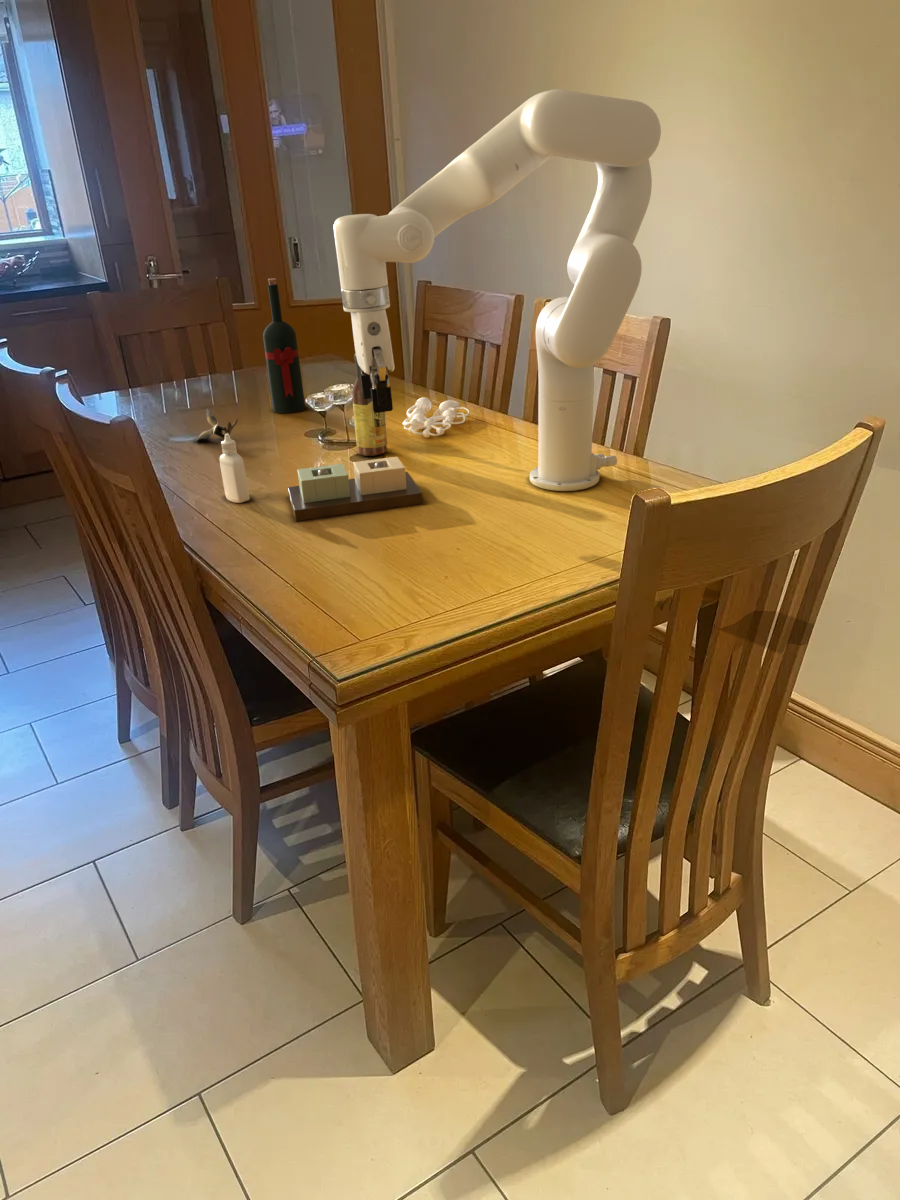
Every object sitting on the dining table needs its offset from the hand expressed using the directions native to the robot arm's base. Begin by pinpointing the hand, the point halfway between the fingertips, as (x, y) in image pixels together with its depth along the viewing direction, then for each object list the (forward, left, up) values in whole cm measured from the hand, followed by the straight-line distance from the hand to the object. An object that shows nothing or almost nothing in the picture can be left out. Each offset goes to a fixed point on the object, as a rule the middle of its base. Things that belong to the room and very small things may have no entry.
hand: (377, 404), depth 146 cm
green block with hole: (+11, 0, -15) cm, 18 cm away
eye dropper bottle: (+26, -9, -17) cm, 32 cm away
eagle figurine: (+29, -48, -17) cm, 58 cm away
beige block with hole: (+1, 0, -15) cm, 15 cm away
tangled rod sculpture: (-19, -40, -17) cm, 48 cm away
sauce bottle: (-2, -26, -17) cm, 31 cm away
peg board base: (+6, 0, -17) cm, 18 cm away
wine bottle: (+11, -67, -17) cm, 70 cm away
